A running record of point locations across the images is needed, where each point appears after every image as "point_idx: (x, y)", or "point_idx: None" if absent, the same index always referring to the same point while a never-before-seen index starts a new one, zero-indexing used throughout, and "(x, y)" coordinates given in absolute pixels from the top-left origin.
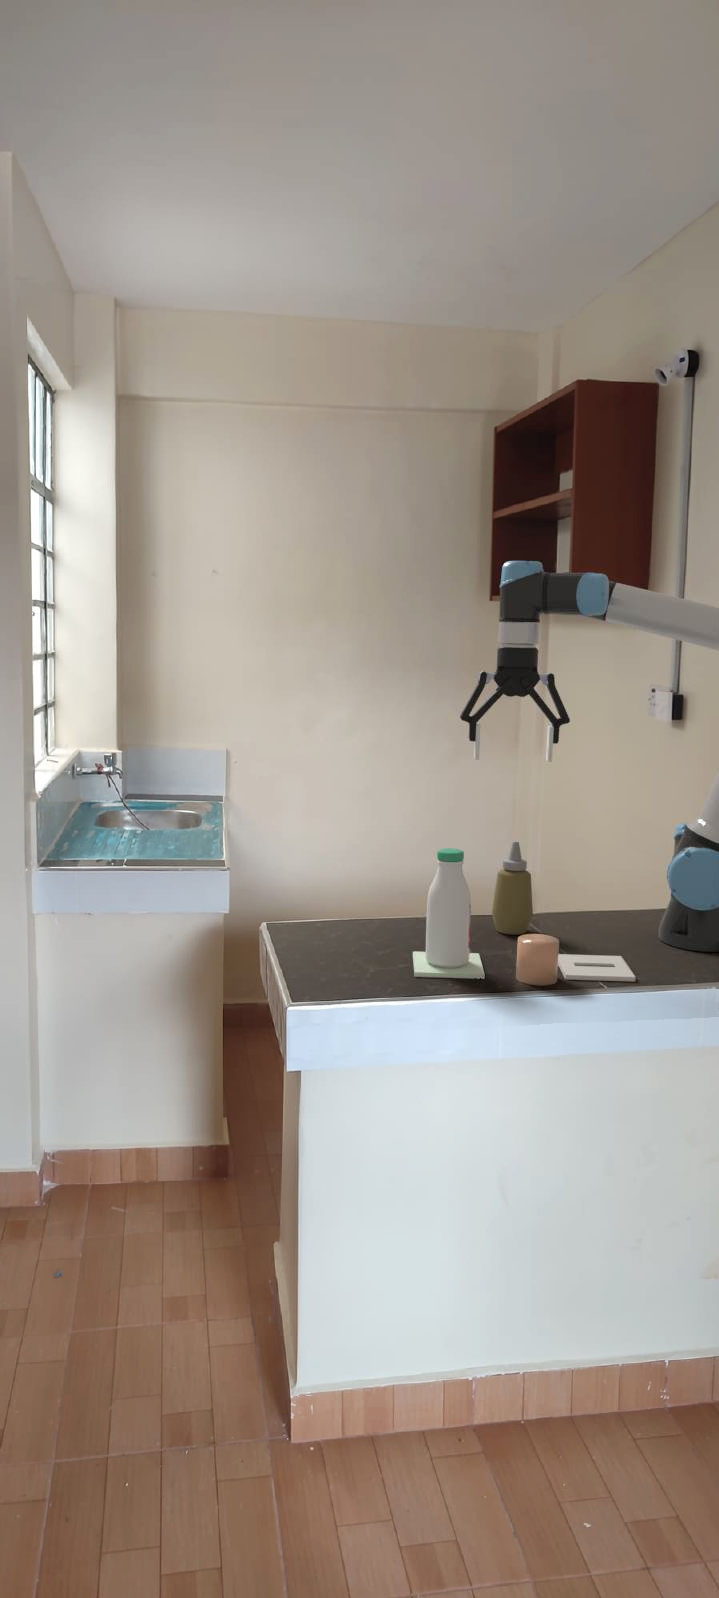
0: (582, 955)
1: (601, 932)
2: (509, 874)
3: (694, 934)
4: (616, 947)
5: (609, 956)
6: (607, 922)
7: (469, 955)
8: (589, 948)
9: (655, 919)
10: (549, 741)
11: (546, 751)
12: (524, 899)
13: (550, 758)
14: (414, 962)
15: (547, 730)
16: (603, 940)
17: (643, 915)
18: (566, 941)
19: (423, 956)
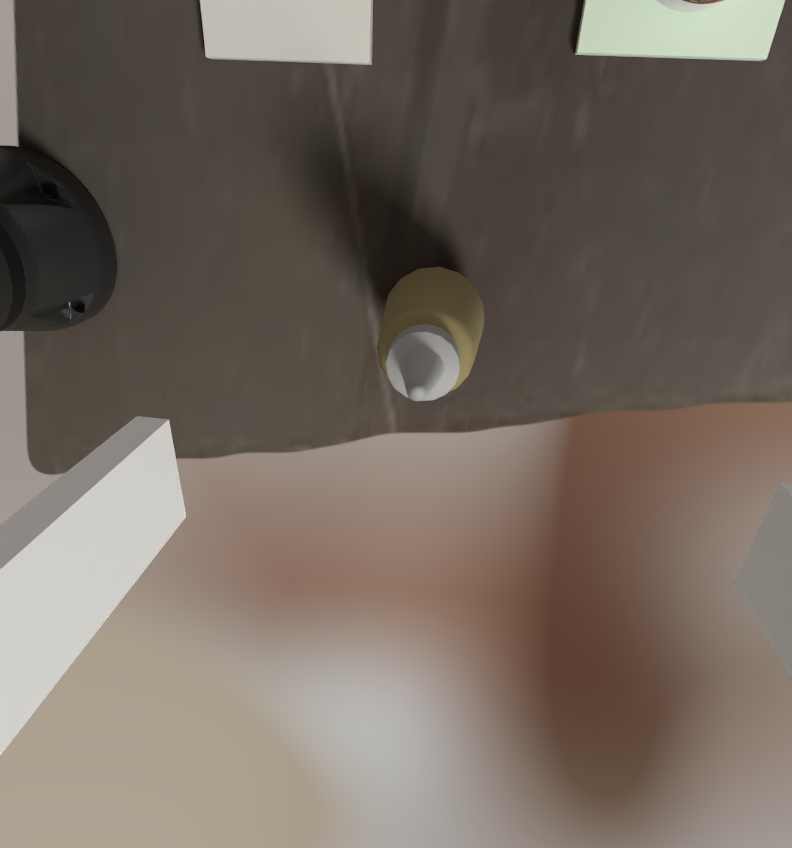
0: (301, 55)
1: (235, 304)
2: (447, 318)
3: (16, 161)
4: (212, 181)
5: (234, 50)
6: (216, 379)
7: (609, 26)
8: (275, 168)
9: (121, 401)
10: (40, 528)
11: (147, 551)
12: (407, 288)
13: (133, 430)
14: None
15: (6, 737)
16: (236, 240)
17: None
18: (321, 228)
19: (753, 2)
